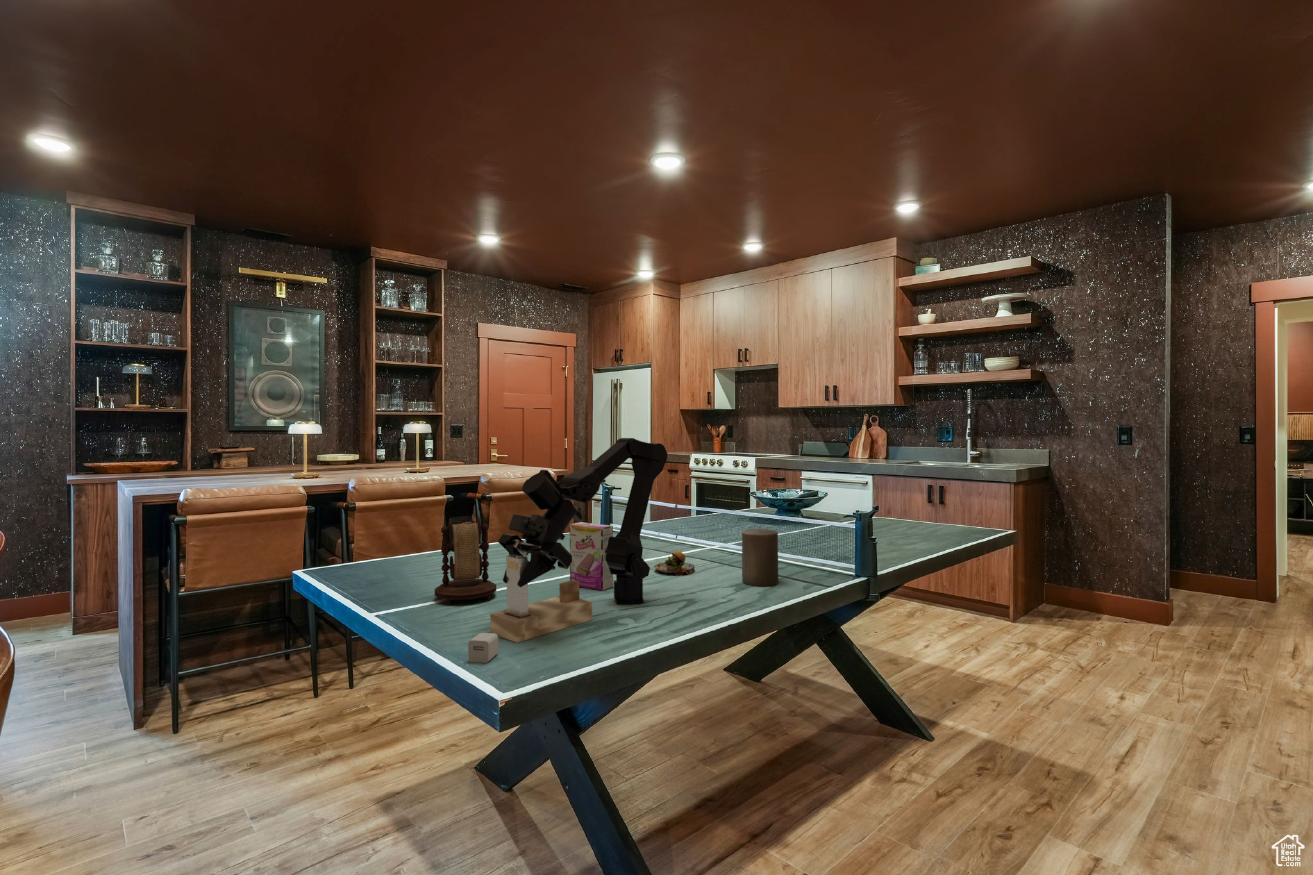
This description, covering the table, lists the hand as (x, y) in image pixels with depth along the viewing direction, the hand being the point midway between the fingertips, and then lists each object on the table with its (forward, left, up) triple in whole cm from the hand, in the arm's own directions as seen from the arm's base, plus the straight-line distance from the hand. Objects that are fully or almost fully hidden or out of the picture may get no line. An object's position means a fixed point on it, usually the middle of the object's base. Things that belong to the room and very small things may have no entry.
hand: (511, 584), depth 137 cm
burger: (-41, -53, -11) cm, 68 cm away
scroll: (+14, -31, -11) cm, 36 cm away
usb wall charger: (+4, +11, -11) cm, 16 cm away
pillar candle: (-62, -37, -11) cm, 73 cm away
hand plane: (-6, -5, -10) cm, 13 cm away
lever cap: (-1, -1, -7) cm, 7 cm away
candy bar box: (-17, -38, -11) cm, 43 cm away
